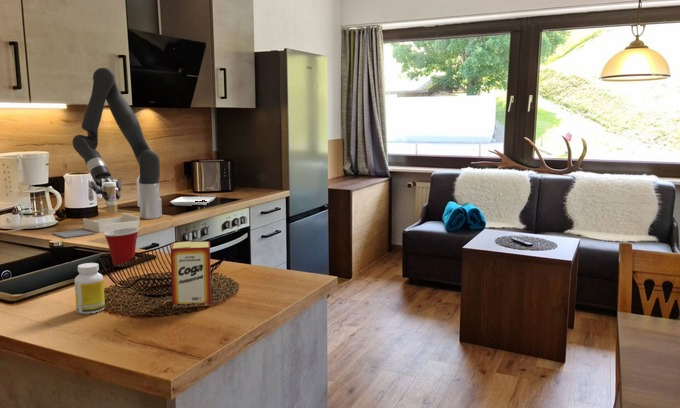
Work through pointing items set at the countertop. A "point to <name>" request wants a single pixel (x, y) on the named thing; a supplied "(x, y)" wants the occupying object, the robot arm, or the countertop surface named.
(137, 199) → the milk carton
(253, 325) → the countertop surface
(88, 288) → the pill bottle
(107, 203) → the sprinkles bottle
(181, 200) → the salad plate
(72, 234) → the coaster
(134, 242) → the plastic cup
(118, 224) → the white shallow box
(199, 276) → the baking soda box
